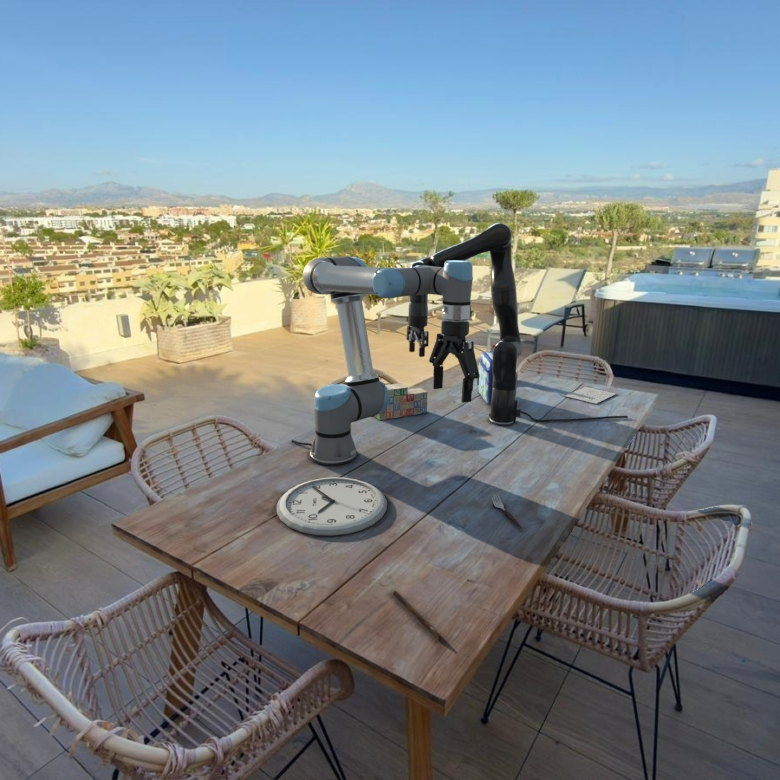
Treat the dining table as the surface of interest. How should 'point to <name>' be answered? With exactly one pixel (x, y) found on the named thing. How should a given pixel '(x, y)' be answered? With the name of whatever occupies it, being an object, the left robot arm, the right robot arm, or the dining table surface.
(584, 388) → the invitation card
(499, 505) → the fork
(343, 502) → the wall clock
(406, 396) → the stack of blocks
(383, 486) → the dining table surface
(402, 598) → the dark brown stick
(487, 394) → the lunch box
